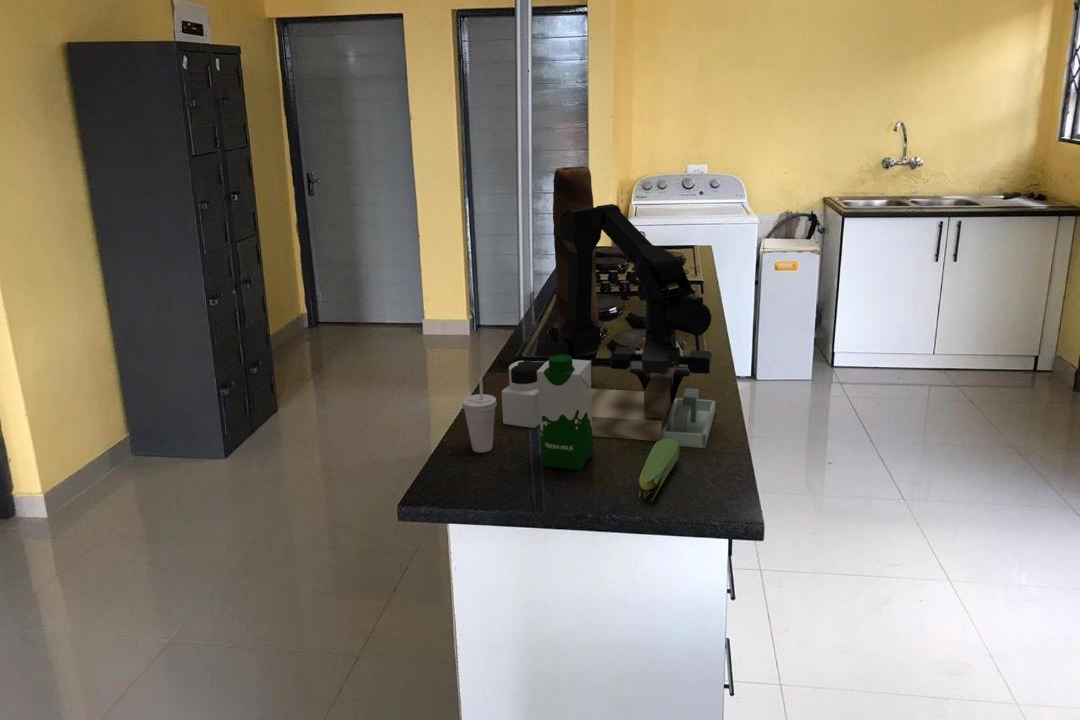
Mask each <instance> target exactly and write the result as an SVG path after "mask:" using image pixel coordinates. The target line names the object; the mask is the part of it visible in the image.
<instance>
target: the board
mask: <svg viewBox="0 0 1080 720" xmlns="http://www.w3.org/2000/svg"><path fill="white" fill-rule="evenodd" d="M591 397H592V437H598V438H613V439H624V440H637V441H638V440H639V441H652V442H658V441H660V440H662V430H663V428H664V425H665V423H666V420H667V418H668V415H669V413H670V410H671V408H672V405H673V404H672V405H671V407H670V410H669V412H668V415H667V418H666V419H663V418H645V414H644V391H639V390H638V391H637V390H636V391H635V390H619V389H608V388H607V389H605V388H591Z"/></svg>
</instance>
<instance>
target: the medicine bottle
mask: <svg viewBox="0 0 1080 720" xmlns="http://www.w3.org/2000/svg"><path fill="white" fill-rule="evenodd" d="M539 369H540V365H539V364H538V363H537V362H535V361H532V360H518V361H515V362H513V363H511V364H510V365H509V366H508V378H509V379H508V380H509V382H508V383H509V385H508V386H507V387H505V388H504V389H502V390H501V391H500V392H501V408H502V409H501V410H502V422H503V424H504V425H510V426H517V427H523V428H530V429H531V428H532V429H535V428H537V427H538V426H540V416H539V394H538V380H537V371H538V370H539Z"/></svg>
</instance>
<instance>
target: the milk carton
mask: <svg viewBox="0 0 1080 720" xmlns="http://www.w3.org/2000/svg"><path fill="white" fill-rule="evenodd" d="M591 366H592V360H590V361H589V360H574V359H572V357H571V356H569V355H563V354H560V355H553V356H551V355H550V356H549V357H548V360H547V361H545V362H544V363H543V365H541V366H540V367H539V370H538V371H537V380H538V394H539V416H540V424H539V434H540V435H539V436H540V437H539V438H540V446H541V447H540V448H541V458H542V459H541V461H542V467H543V468H544V467H547V468H555V469H563V470H564V469H565V470H573V471H582V469H583V467H584V466H585V465H586V464H587V462H588V460H589V459H590V457H591V456H592V450H593V449H592V447H593V446H592V445H593V436H592V397H591V389H592V385H591Z"/></svg>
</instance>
